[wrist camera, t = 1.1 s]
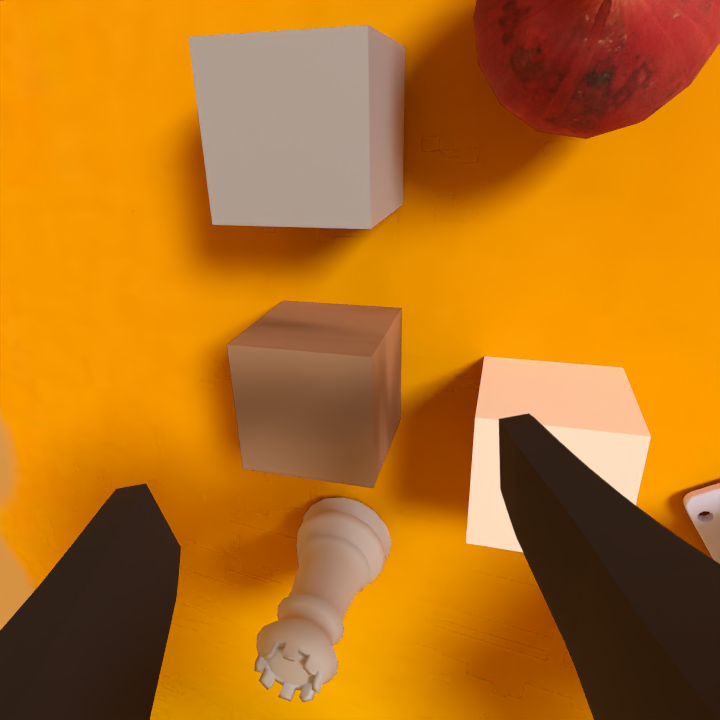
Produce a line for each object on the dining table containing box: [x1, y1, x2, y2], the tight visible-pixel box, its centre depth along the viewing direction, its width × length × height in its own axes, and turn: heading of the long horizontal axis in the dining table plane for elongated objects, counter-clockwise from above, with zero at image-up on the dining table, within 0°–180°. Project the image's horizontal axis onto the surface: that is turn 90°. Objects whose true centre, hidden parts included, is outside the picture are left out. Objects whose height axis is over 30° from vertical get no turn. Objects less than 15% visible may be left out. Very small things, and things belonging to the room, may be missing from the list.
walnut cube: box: [227, 301, 402, 488], centre depth 21 cm, size 5×5×5 cm
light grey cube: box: [188, 25, 405, 229], centre depth 17 cm, size 5×5×5 cm
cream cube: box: [466, 356, 651, 552], centre depth 20 cm, size 5×5×5 cm
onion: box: [474, 0, 720, 139], centre depth 13 cm, size 6×6×8 cm
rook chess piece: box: [255, 497, 391, 702], centre depth 23 cm, size 4×4×8 cm
